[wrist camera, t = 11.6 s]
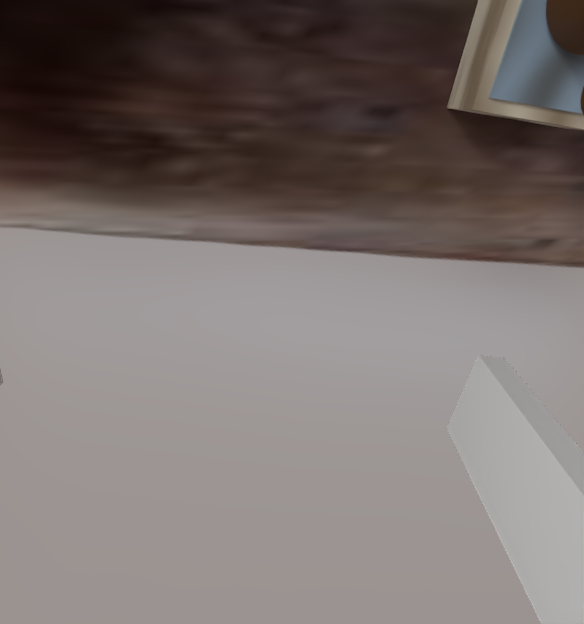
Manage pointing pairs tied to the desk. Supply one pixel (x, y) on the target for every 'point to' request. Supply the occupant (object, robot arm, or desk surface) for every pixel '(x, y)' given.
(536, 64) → the plinth
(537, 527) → the robot arm
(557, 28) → the mug
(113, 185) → the desk surface
